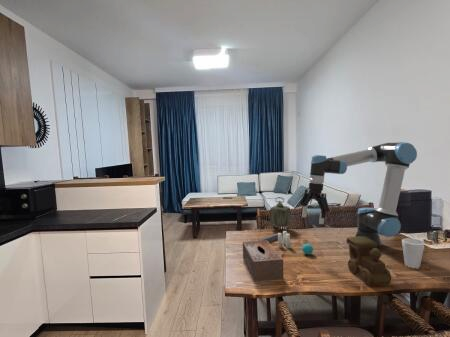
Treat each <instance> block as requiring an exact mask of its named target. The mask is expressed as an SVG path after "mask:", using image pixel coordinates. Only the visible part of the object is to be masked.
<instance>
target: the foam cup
mask: <svg viewBox="0 0 450 337" xmlns="http://www.w3.org/2000/svg"><path fill="white" fill-rule="evenodd" d="M401 245H402V252H403V260H404V261H403V262H404V265H405V267H407V266H408V268H410V267H411V268H410V269H415V268H416V269H420V268H419V267H421V263H422V260H423V258H422V257H423V254H424V249H425V242H424V241H423V240H420V239H417V238H412V237H411V238H410V237H404V238H402V239H401Z"/></svg>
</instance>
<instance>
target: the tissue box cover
mask: <svg viewBox="0 0 450 337" xmlns="http://www.w3.org/2000/svg"><path fill="white" fill-rule="evenodd" d="M242 259H243V260H242V261H243V262H244V264H245V265H246V268H247V270H248V272H249V274H250V275H251V276H250V277H251V278H252V280H253V282H254V281H255V282H265V281H275V280H284V258H283V257H282V256H281V255H280V253H279V252H278V251H277V250H276V249H275V248H274V246H273V245H272V244H271V243H270V242H268V241H267V240H264V241H258V240H255V241H254V240H253V241H252V240H251V241H242Z"/></svg>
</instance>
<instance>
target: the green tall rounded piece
mask: <svg viewBox="0 0 450 337" xmlns="http://www.w3.org/2000/svg"><path fill="white" fill-rule="evenodd" d="M277 199H282V200H283V201H281V200H279V201H278V200H277ZM275 202H276V205H273V206H271V207H270V208H269V213H268V214H269V221H270V222H269V223H270V224H271V225H272V226H273V228H276V227H278V228H277V231H280V230H281V228H280V227H285V228H286V229H287V230H289V229H290V228H289V227H288V226H289V224H290V223H291V219H292V213H291V208H290V207H289V206H287V205H284V204H283V203H284V202H285V199H284V198H283V197H281V196H280V197H279V196H278V197H275Z"/></svg>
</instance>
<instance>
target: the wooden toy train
mask: <svg viewBox="0 0 450 337" xmlns="http://www.w3.org/2000/svg"><path fill="white" fill-rule="evenodd" d="M346 243H347V244H348V250H349V251H348V254H349V259H348V261H347V267H348V270H349V272H350V273H352V274H353V275H357V273H359V274H360V277H361V281H363V283H364V284H365V285H367V286H370V285H372V284H374V285H381V284H387V285H388V284H391V282H392V274H391V272H390V270H388V268H386V264H385V262H383V261H382V260H380V259H381V256H382V251H380V249H379V248H377V243H376V242H375V241H373V240H371V239H369V238H367V237H362V236H357V237H355V236H349V237H348V236H347V237H346Z"/></svg>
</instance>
